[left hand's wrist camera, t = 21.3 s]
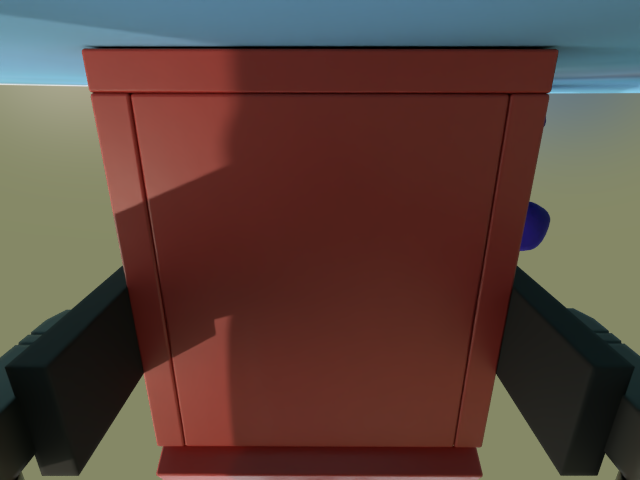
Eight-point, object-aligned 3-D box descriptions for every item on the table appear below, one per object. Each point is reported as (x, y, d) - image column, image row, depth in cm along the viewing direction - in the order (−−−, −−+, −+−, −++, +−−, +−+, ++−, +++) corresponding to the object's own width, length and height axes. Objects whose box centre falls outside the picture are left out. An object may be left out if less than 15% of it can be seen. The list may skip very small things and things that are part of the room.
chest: (399, 81, 24) (388, 244, 28) (241, 81, 24) (252, 244, 28) (560, 48, 8) (482, 448, 12) (79, 47, 8) (156, 447, 12)
